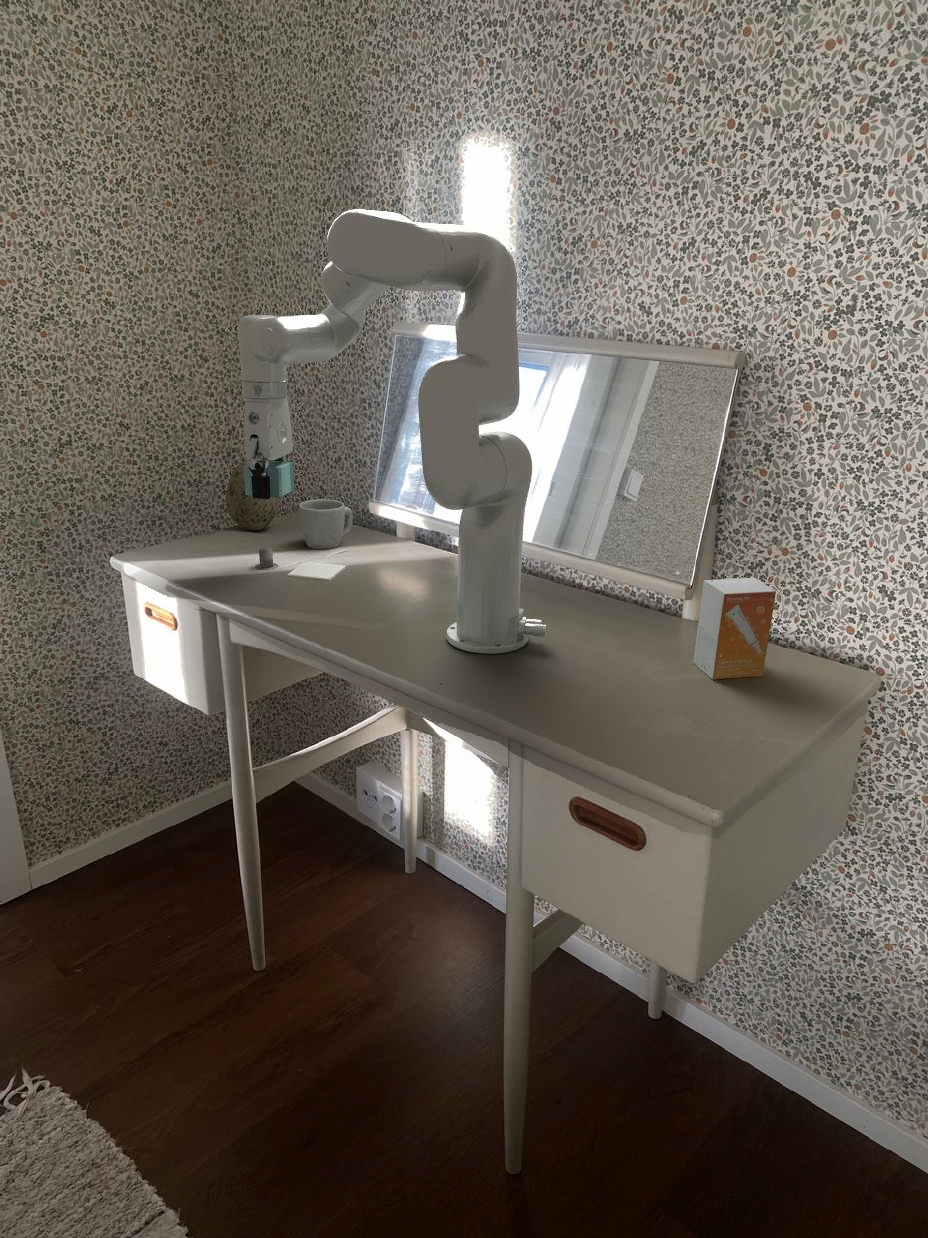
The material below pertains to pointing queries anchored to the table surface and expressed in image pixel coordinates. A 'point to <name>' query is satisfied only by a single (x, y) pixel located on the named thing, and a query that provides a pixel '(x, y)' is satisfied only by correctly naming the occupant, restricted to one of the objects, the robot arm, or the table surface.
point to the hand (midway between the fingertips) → (270, 493)
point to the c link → (274, 478)
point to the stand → (266, 560)
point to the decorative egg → (248, 503)
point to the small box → (734, 627)
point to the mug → (324, 522)
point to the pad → (317, 571)
